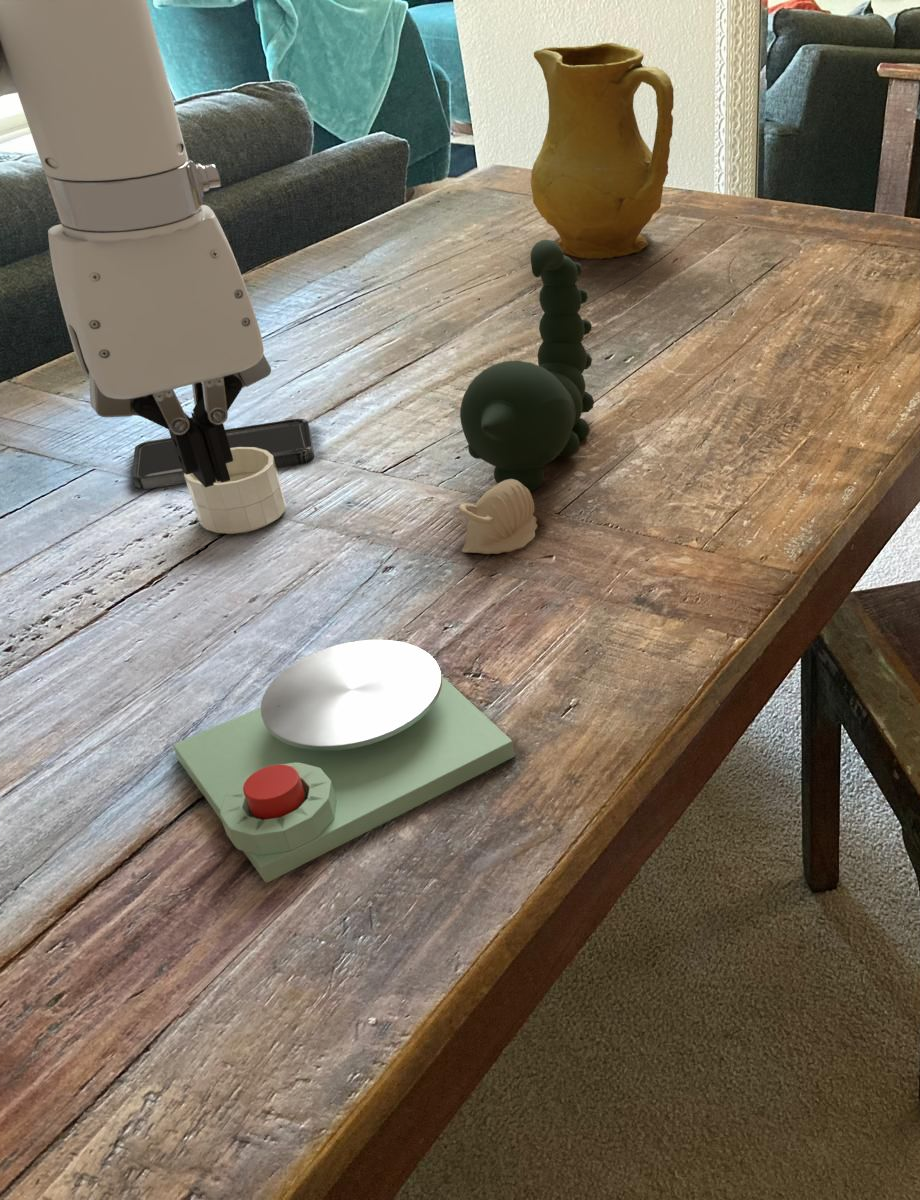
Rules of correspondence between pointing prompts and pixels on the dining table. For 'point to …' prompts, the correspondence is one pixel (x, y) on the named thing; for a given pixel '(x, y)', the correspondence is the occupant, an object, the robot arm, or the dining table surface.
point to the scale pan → (351, 695)
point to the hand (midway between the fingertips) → (210, 476)
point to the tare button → (274, 791)
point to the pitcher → (600, 149)
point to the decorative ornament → (500, 519)
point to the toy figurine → (535, 384)
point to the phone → (278, 438)
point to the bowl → (240, 494)
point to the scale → (338, 778)
